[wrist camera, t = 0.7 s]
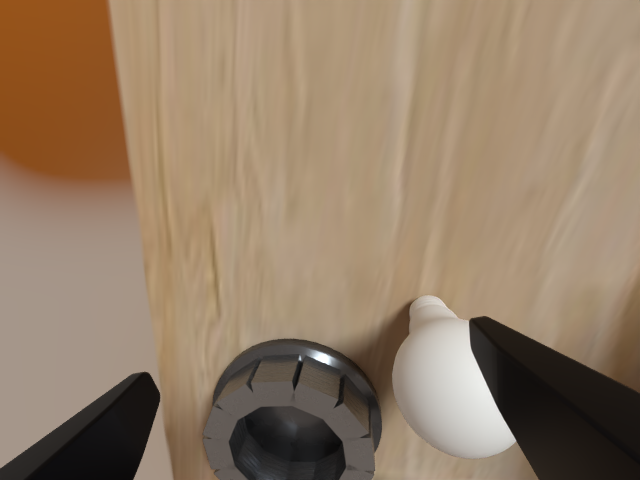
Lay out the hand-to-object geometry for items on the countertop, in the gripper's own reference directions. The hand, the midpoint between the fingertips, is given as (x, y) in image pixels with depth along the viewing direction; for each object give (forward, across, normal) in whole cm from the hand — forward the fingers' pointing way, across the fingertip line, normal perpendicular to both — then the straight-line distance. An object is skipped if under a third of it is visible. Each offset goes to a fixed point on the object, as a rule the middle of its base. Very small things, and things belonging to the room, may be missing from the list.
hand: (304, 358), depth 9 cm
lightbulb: (+13, -6, +8) cm, 17 cm away
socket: (+13, +5, +16) cm, 22 cm away
